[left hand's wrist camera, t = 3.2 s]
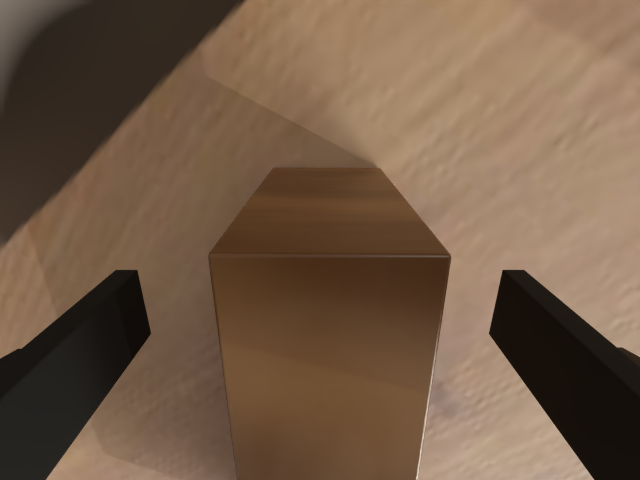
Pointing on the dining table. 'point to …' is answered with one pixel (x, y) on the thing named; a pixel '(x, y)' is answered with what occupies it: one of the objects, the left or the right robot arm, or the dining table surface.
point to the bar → (328, 326)
